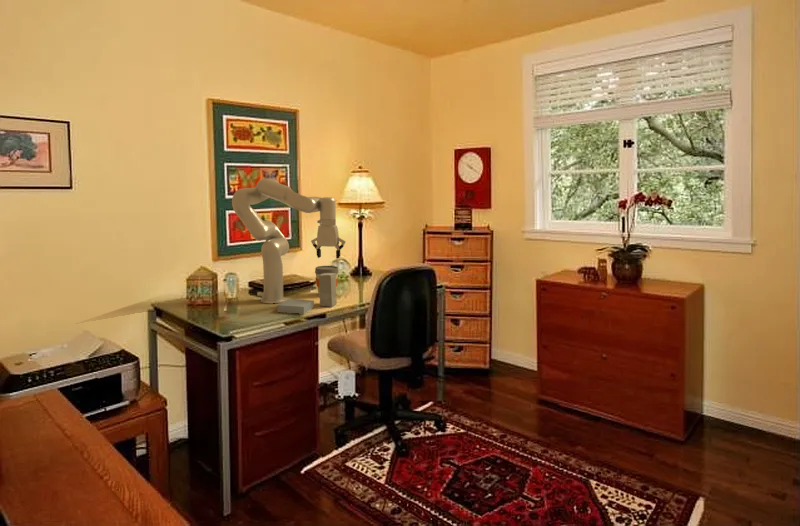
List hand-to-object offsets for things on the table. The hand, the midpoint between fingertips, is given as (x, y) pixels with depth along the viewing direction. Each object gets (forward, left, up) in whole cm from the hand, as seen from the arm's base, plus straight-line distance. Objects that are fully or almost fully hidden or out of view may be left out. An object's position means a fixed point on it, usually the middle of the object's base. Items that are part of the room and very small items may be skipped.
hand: (328, 257), depth 267 cm
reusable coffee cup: (-8, +21, -24) cm, 33 cm away
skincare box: (0, 0, -24) cm, 24 cm away
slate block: (-11, -14, -24) cm, 30 cm away
